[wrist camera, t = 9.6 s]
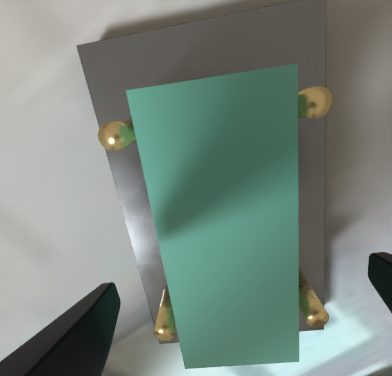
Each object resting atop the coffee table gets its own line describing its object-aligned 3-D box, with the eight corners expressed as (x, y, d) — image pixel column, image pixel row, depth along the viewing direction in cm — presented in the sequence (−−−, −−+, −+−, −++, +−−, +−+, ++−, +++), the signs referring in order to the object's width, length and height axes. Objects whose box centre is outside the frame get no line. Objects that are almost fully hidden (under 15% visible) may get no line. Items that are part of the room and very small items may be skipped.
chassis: (314, 312, 18) (349, 374, 13) (163, 326, 19) (150, 389, 14) (311, 9, 12) (372, -51, 8) (90, 53, 13) (33, 22, 8)
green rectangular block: (276, 301, 16) (299, 361, 12) (189, 308, 16) (185, 368, 12) (266, 80, 12) (297, 63, 8) (150, 98, 12) (125, 90, 8)
